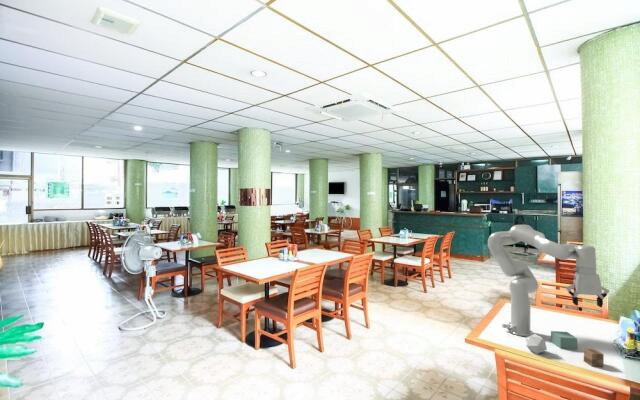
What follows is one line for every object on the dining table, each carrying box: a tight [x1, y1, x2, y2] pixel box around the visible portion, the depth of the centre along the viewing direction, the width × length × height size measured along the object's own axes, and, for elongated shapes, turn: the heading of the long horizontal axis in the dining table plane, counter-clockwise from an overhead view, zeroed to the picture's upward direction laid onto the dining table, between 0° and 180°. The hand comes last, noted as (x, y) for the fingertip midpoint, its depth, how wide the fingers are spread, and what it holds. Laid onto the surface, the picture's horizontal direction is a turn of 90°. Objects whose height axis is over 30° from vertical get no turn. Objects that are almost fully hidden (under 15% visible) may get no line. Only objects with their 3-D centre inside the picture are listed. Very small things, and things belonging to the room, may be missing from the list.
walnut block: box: [583, 348, 605, 368], centre depth 148 cm, size 5×5×6 cm
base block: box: [550, 330, 578, 350], centre depth 167 cm, size 8×8×6 cm
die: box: [524, 333, 547, 355], centre depth 159 cm, size 8×9×10 cm
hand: (587, 305), depth 155 cm, fingers open, 9 cm apart
